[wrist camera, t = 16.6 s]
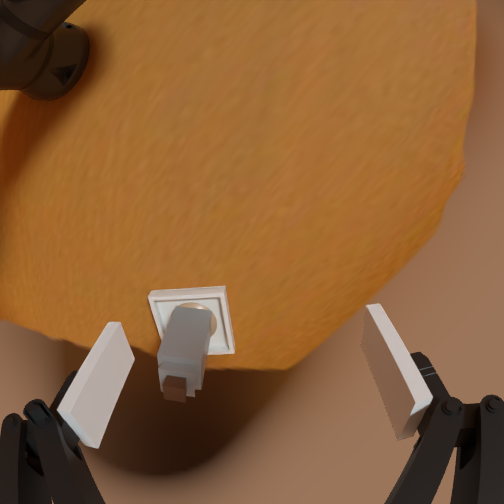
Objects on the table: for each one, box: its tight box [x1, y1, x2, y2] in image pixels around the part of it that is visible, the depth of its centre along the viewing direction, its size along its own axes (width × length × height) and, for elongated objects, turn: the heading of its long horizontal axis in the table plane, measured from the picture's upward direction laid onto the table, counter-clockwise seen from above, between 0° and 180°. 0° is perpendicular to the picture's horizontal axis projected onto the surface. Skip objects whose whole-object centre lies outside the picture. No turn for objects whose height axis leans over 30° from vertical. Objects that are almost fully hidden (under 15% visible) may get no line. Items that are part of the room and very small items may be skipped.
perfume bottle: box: [157, 306, 212, 402], centre depth 47 cm, size 7×7×18 cm
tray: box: [148, 286, 235, 355], centre depth 56 cm, size 14×14×2 cm
